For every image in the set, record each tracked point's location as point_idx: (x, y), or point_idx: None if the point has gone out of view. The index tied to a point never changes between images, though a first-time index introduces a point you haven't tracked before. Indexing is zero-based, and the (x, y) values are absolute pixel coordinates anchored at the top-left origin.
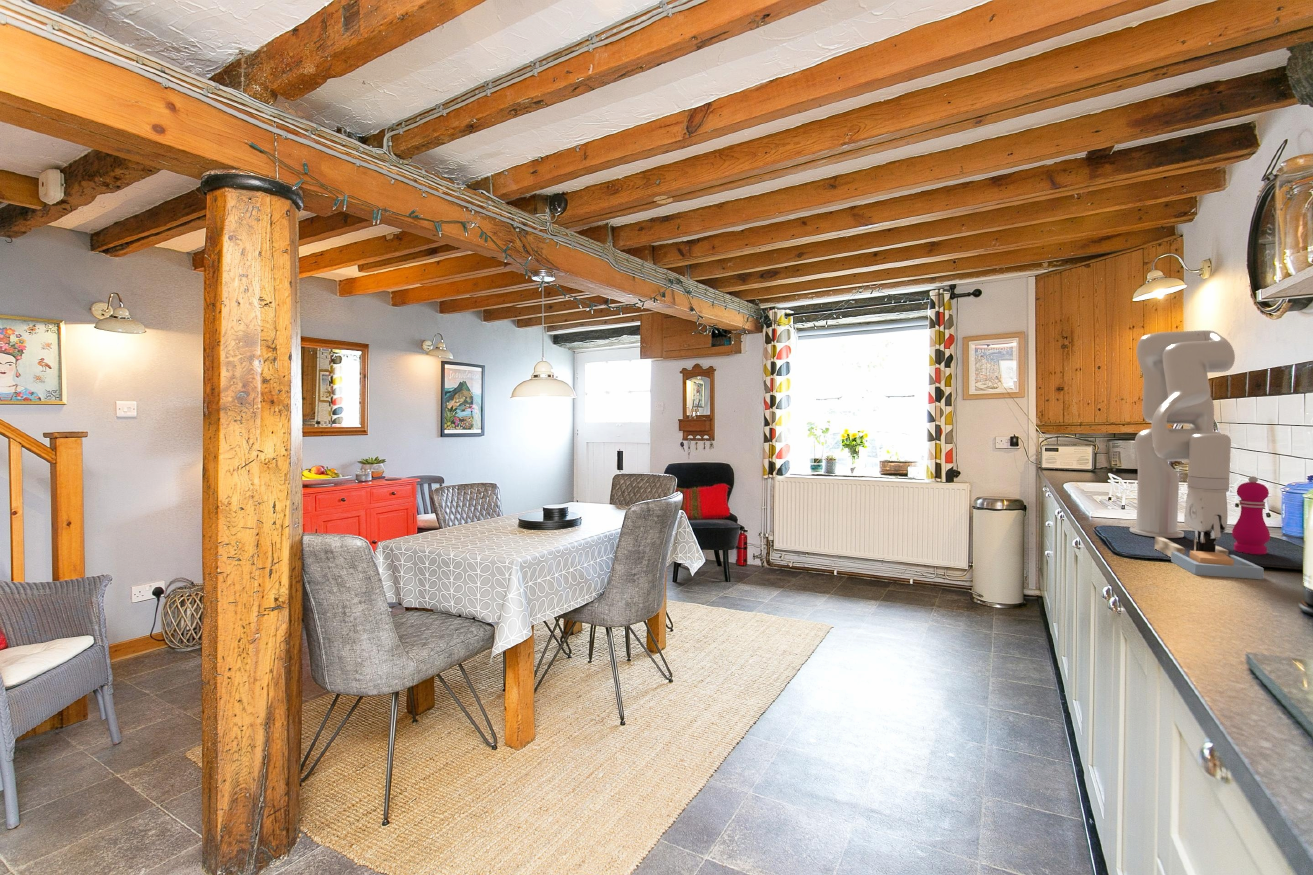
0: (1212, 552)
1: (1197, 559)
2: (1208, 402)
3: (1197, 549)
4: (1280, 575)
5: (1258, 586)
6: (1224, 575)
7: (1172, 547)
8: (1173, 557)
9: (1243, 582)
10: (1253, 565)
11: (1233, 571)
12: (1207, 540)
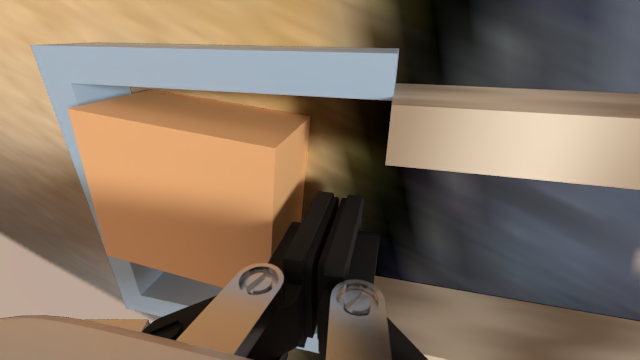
0: (263, 261)
1: (137, 111)
2: None
3: (337, 224)
4: None
5: (47, 202)
6: None
7: (499, 106)
8: (358, 49)
9: (75, 186)
10: (162, 306)
11: None
12: (210, 301)
